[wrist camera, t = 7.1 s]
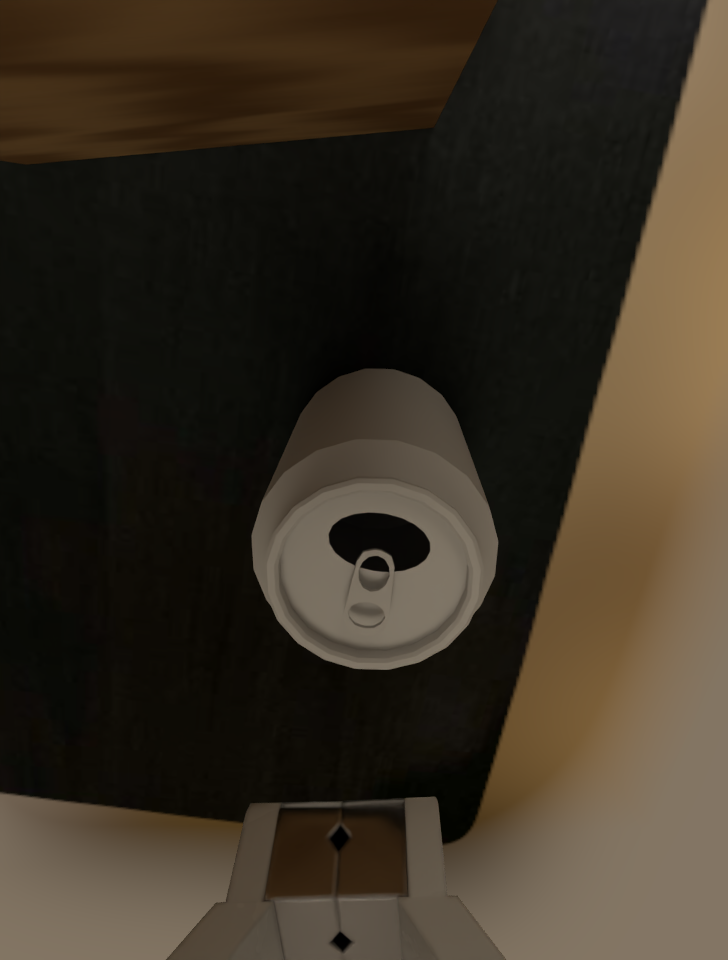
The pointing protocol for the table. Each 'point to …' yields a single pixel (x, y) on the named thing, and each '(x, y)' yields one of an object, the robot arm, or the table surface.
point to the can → (375, 525)
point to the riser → (222, 72)
